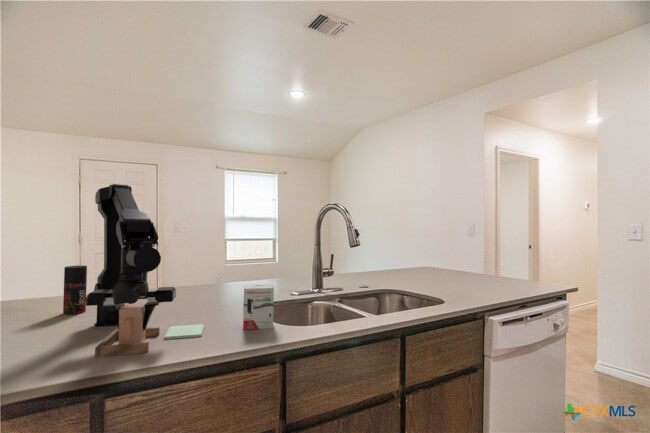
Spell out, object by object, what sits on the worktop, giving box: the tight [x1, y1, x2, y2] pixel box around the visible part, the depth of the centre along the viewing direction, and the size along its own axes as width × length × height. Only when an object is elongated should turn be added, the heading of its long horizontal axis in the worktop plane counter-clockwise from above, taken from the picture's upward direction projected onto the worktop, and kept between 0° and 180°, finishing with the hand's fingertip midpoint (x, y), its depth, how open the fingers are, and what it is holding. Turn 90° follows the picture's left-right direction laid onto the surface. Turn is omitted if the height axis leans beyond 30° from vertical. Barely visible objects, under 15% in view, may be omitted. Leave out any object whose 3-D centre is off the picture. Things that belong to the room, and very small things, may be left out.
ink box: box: [242, 283, 275, 331], centre depth 96 cm, size 8×5×12 cm, turn 103°
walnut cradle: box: [94, 326, 160, 358], centre depth 81 cm, size 10×13×2 cm
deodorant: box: [62, 265, 88, 316], centre depth 109 cm, size 6×6×15 cm
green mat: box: [163, 323, 205, 340], centre depth 91 cm, size 9×9×1 cm
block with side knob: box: [117, 303, 147, 345], centre depth 81 cm, size 8×5×9 cm, turn 16°
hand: (132, 330), depth 82 cm, fingers closed on block with side knob, 5 cm apart
